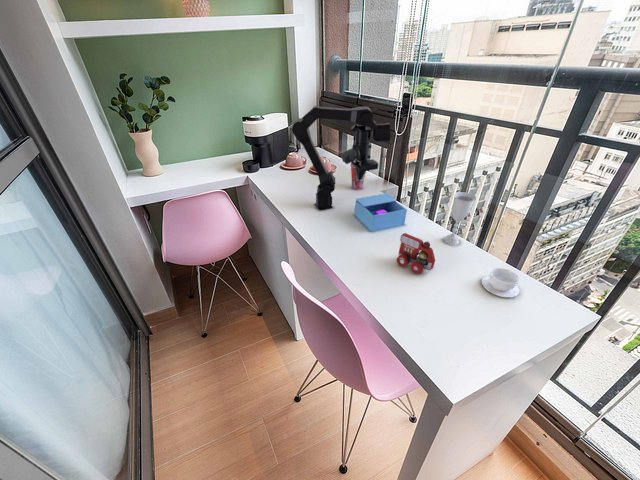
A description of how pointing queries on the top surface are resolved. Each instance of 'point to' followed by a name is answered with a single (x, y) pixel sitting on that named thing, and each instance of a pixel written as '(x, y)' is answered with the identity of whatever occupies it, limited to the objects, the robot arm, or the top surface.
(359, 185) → the cup
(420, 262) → the toy fire truck
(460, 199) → the chalice
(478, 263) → the top surface
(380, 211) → the crystal
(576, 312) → the top surface
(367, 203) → the flap
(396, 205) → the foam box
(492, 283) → the teacup
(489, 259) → the top surface
